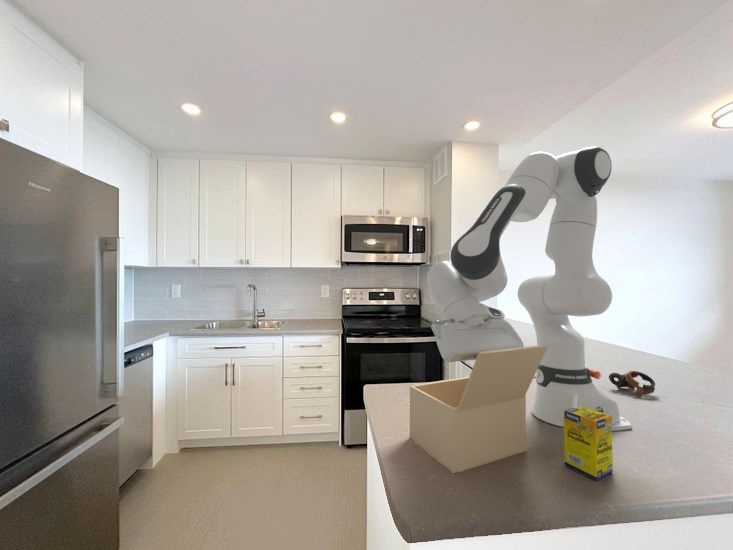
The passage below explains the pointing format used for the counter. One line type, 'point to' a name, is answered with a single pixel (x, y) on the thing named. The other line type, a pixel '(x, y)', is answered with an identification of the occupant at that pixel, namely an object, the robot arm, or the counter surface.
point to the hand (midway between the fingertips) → (499, 376)
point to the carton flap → (501, 375)
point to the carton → (464, 426)
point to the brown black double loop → (633, 382)
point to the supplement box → (588, 442)
